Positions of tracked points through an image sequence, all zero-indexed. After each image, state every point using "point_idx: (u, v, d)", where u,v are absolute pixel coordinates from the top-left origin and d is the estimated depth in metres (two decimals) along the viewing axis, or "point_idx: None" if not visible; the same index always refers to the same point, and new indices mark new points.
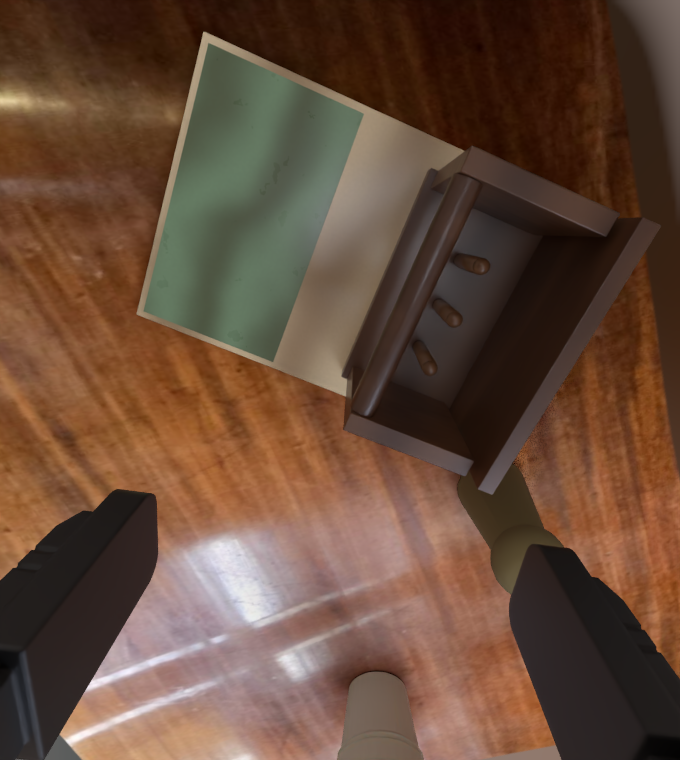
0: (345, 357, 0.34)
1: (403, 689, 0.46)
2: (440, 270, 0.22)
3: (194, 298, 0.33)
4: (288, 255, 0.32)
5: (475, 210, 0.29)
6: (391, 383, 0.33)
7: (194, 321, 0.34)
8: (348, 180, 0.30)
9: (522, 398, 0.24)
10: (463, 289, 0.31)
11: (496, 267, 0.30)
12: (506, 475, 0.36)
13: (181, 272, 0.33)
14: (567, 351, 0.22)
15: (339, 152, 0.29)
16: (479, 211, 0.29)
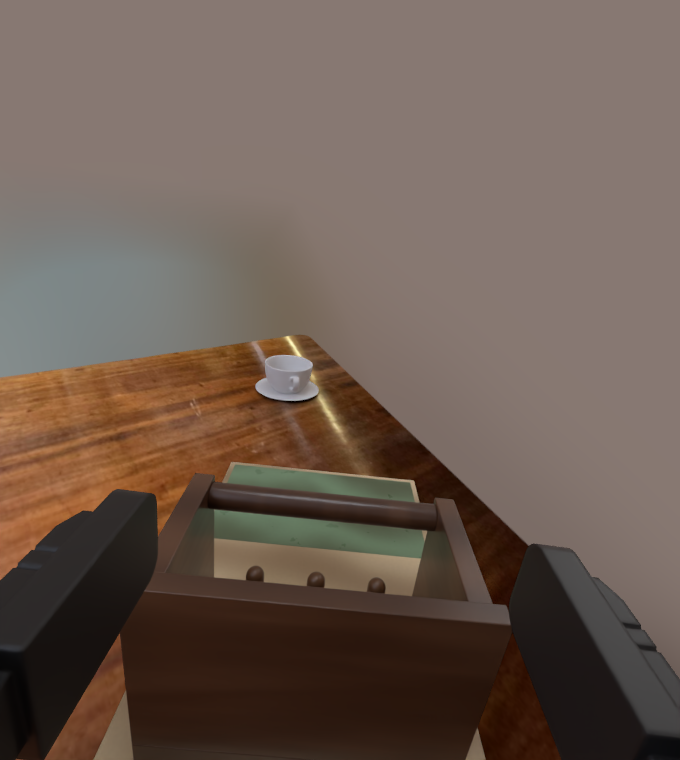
0: None
1: None
2: (363, 509, 0.25)
3: None
4: (305, 533, 0.37)
5: None
6: None
7: None
8: (380, 559, 0.35)
9: None
10: None
11: None
12: None
13: (270, 479, 0.44)
14: (346, 595, 0.18)
15: (395, 551, 0.36)
16: None
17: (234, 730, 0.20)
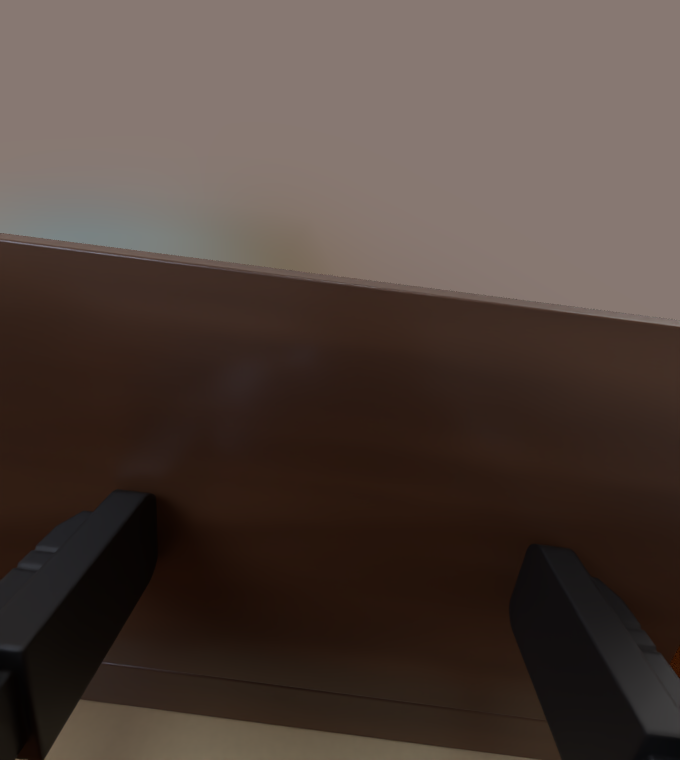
0: None
1: None
2: None
3: None
4: None
5: None
6: None
7: None
8: None
9: None
10: None
11: None
12: None
13: None
14: (434, 290, 0.08)
15: None
16: None
17: (193, 623, 0.10)
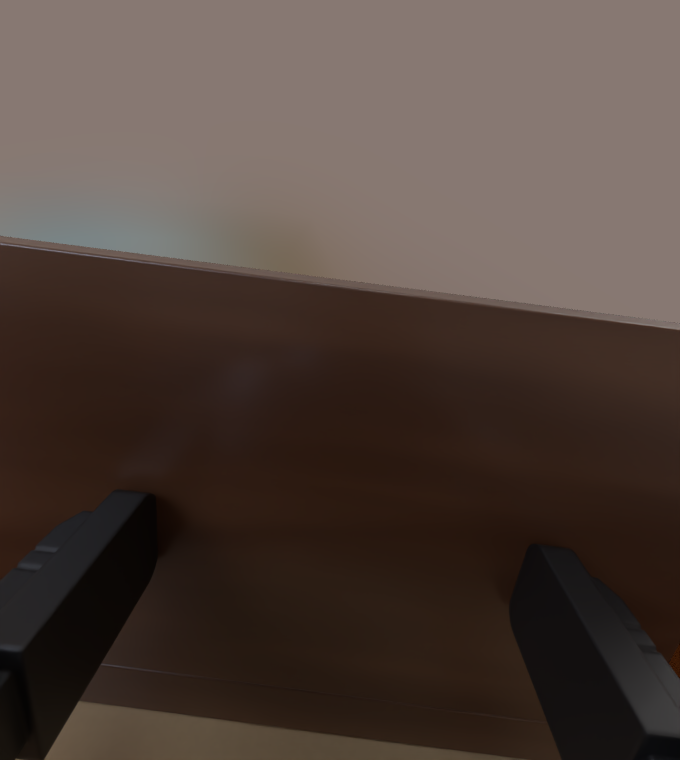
0: None
1: None
2: None
3: None
4: None
5: None
6: None
7: None
8: None
9: None
10: None
11: None
12: None
13: None
14: (432, 293, 0.08)
15: None
16: None
17: (191, 624, 0.10)
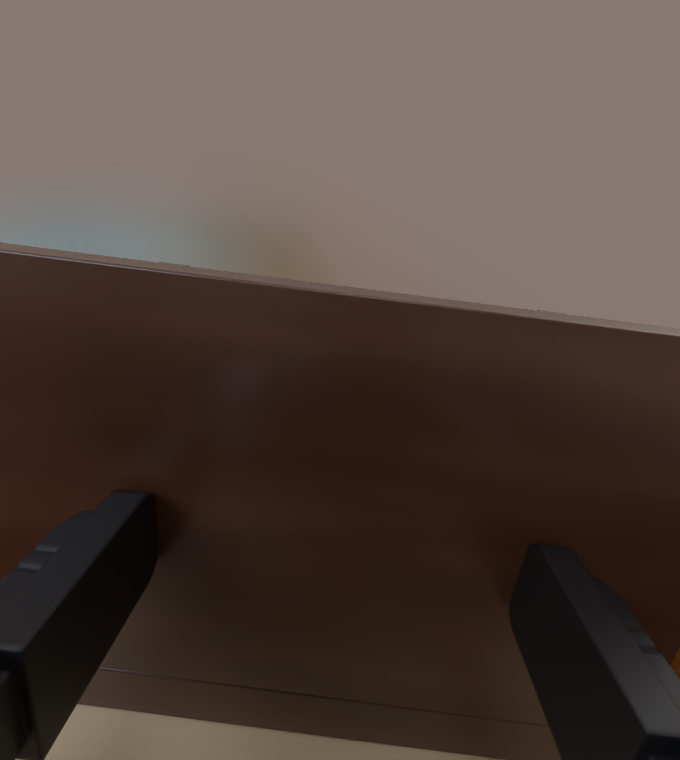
0: None
1: None
2: None
3: None
4: None
5: None
6: None
7: None
8: None
9: None
10: None
11: None
12: None
13: None
14: (433, 299, 0.08)
15: None
16: None
17: (193, 629, 0.10)
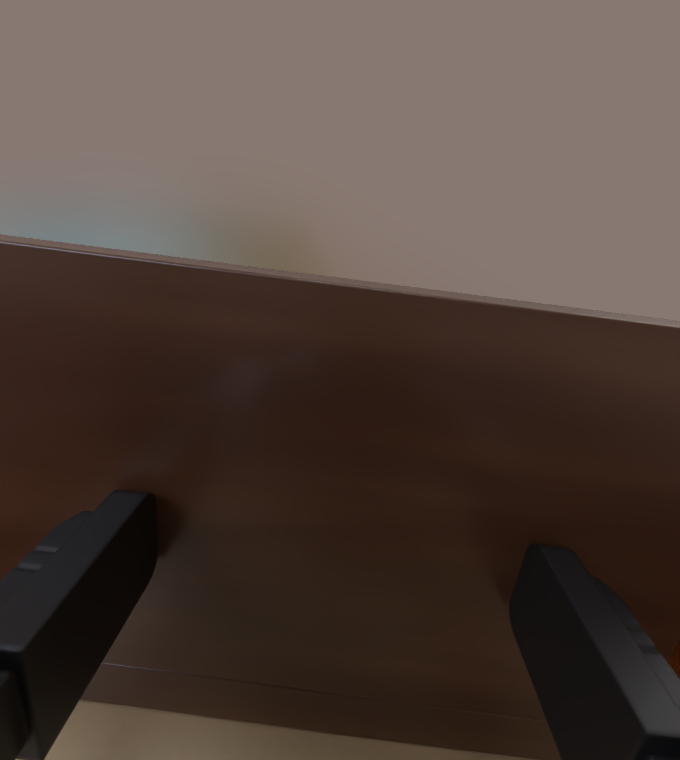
0: None
1: None
2: None
3: None
4: None
5: None
6: None
7: None
8: None
9: None
10: None
11: None
12: None
13: None
14: (431, 291, 0.08)
15: None
16: None
17: (191, 623, 0.10)
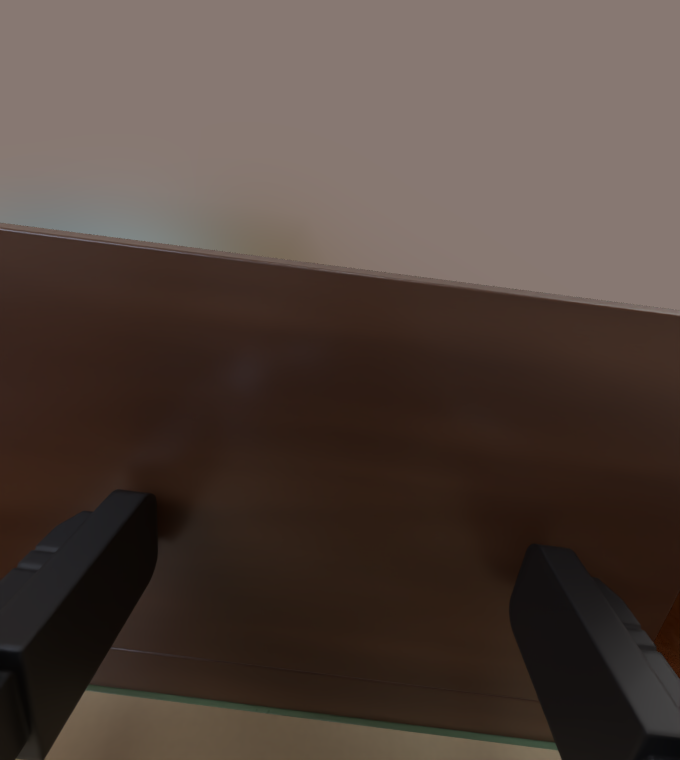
0: None
1: None
2: None
3: None
4: None
5: None
6: None
7: None
8: None
9: None
10: None
11: None
12: None
13: None
14: (422, 278, 0.08)
15: None
16: None
17: (188, 606, 0.10)
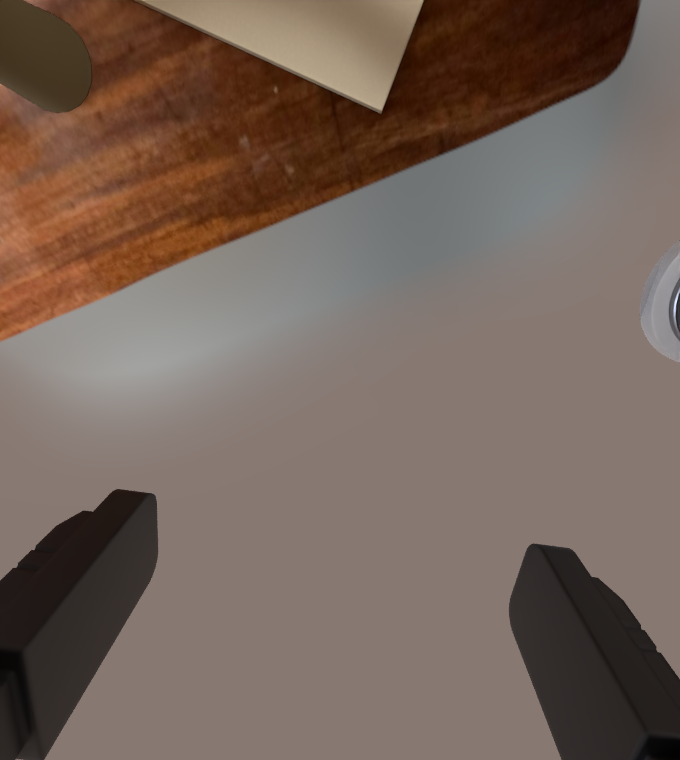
0: None
1: None
2: None
3: None
4: None
5: None
6: None
7: None
8: None
9: None
10: None
11: None
12: (68, 57, 0.28)
13: None
14: None
15: None
16: None
17: None
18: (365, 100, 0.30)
